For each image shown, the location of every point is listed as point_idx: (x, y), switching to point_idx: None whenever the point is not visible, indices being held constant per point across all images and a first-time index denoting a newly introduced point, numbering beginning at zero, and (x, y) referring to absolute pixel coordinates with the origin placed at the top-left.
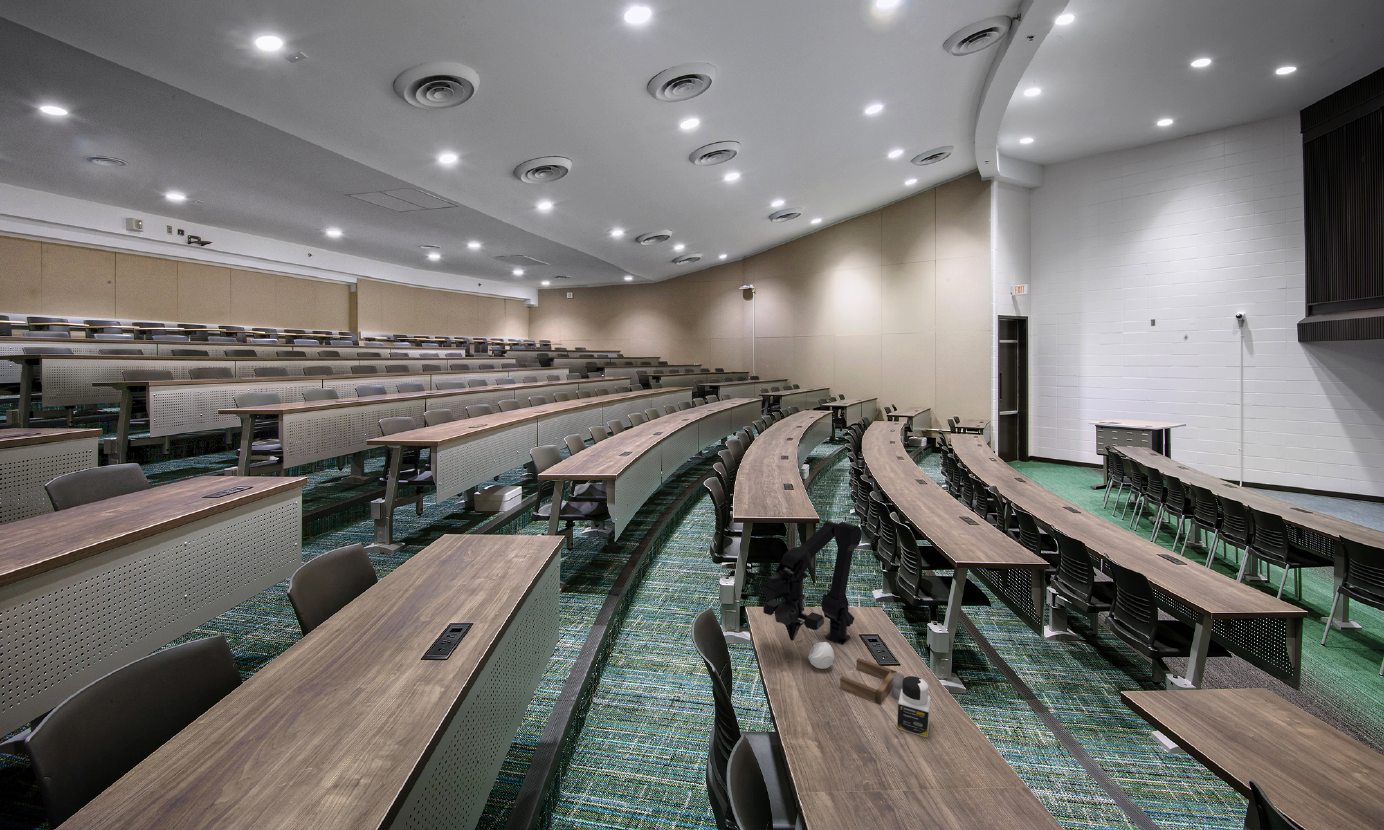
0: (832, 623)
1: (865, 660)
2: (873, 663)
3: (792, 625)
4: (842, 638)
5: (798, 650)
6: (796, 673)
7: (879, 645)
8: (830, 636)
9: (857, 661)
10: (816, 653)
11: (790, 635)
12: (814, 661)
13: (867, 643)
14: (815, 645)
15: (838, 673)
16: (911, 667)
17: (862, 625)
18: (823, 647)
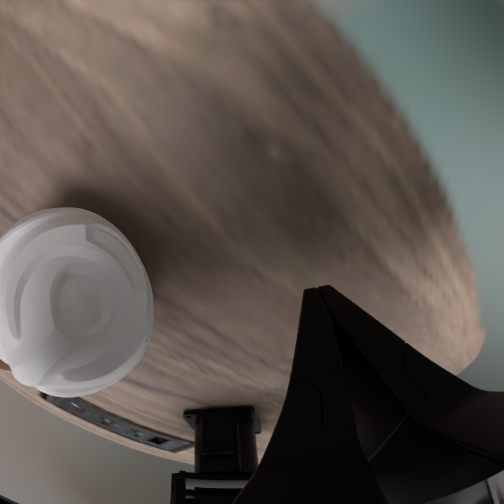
0: (228, 469)
1: None
2: (1, 367)
3: (345, 480)
4: (196, 427)
5: (286, 291)
6: (122, 72)
7: (129, 433)
8: (228, 420)
9: None
10: (9, 263)
11: (342, 314)
12: (35, 212)
13: (151, 431)
14: (43, 332)
15: None
16: (29, 397)
17: None
18: (3, 339)
